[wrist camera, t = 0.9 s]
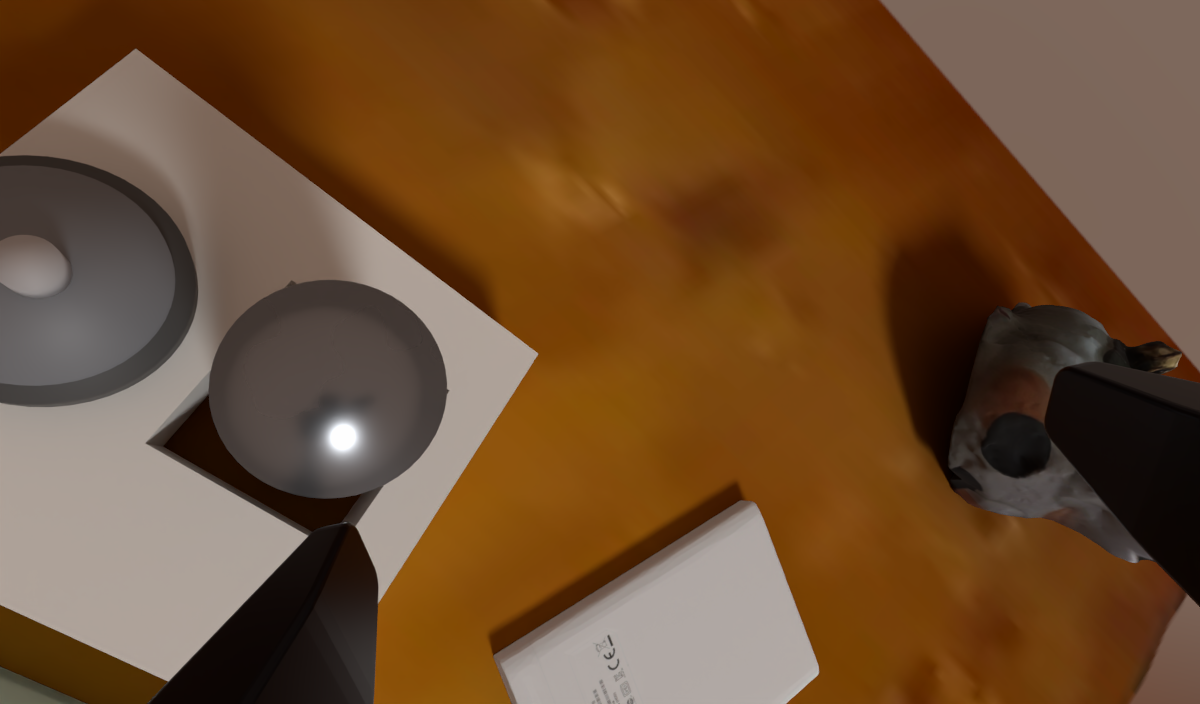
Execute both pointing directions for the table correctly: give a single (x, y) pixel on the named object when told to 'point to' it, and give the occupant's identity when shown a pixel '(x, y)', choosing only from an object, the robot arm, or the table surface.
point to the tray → (29, 691)
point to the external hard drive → (675, 629)
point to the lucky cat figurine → (1037, 420)
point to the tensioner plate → (178, 364)
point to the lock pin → (327, 389)
